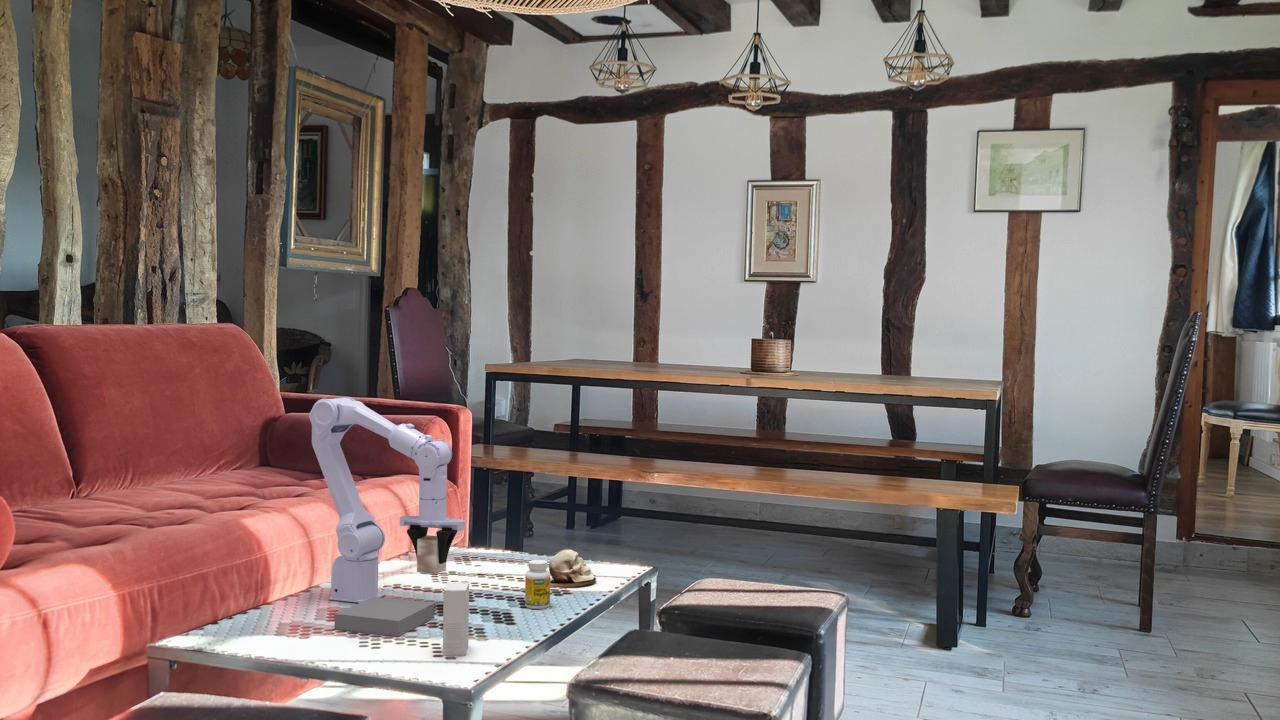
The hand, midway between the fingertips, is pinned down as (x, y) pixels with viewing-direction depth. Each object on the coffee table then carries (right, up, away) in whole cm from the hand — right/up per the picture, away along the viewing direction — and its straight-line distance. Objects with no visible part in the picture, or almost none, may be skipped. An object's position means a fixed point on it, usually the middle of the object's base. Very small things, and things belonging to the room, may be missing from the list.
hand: (431, 561), depth 217 cm
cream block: (0, -2, 0) cm, 2 cm away
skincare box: (+10, -11, -30) cm, 34 cm away
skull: (+28, -10, +24) cm, 38 cm away
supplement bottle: (+22, -10, +2) cm, 24 cm away
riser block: (-6, -10, -14) cm, 18 cm away
